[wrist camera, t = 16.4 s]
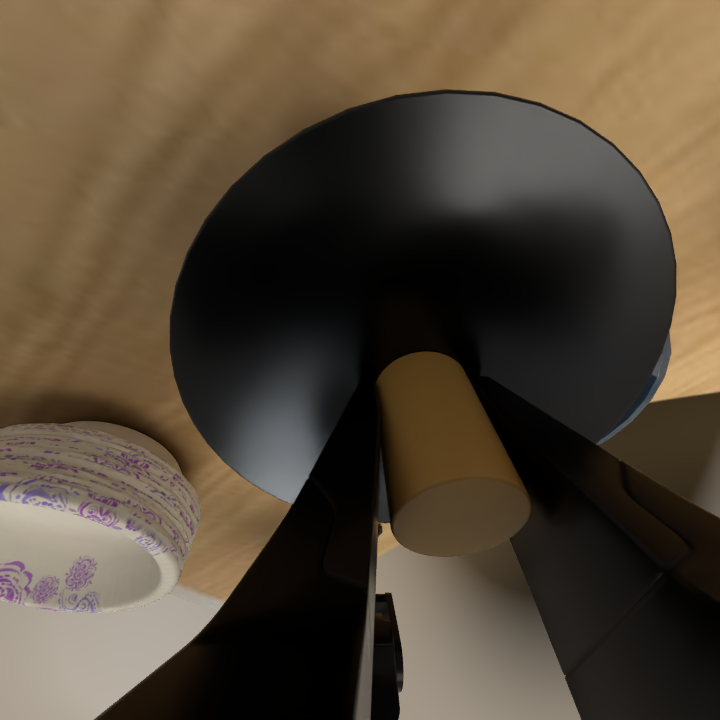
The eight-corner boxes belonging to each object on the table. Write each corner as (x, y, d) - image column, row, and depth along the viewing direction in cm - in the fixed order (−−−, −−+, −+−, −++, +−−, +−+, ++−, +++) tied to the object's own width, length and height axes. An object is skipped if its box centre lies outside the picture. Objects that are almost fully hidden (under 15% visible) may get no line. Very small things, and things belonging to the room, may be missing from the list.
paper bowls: (41, 512, 30) (-43, 617, 24) (-31, 376, 22) (-189, 478, 16) (218, 523, 33) (187, 622, 26) (211, 402, 24) (164, 502, 18)
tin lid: (453, 524, 14) (495, 670, 10) (146, 436, 11) (35, 610, 7) (743, 276, 9) (1073, 395, 5) (294, -91, 5) (133, -879, 1)
